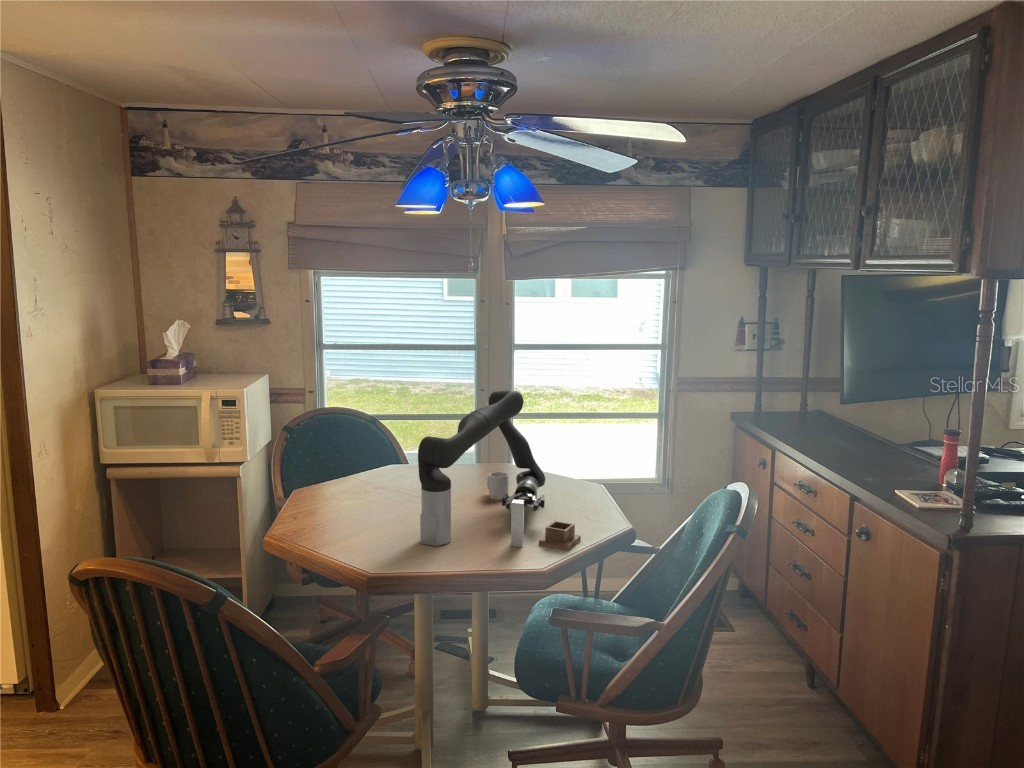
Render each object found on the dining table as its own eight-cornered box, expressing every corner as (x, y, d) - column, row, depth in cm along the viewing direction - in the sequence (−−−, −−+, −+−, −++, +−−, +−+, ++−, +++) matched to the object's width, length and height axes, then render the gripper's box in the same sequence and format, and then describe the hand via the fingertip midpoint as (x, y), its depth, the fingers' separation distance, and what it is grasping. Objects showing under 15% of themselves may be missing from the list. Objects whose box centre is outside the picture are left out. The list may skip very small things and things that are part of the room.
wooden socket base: (568, 550, 229) (568, 533, 228) (538, 544, 234) (539, 528, 233) (580, 540, 238) (580, 523, 237) (551, 534, 243) (551, 518, 242)
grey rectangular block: (522, 547, 232) (523, 503, 230) (510, 546, 232) (511, 502, 230) (523, 542, 235) (524, 499, 233) (512, 542, 236) (512, 499, 234)
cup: (497, 501, 277) (498, 478, 275) (480, 495, 284) (480, 472, 283) (512, 497, 282) (512, 474, 280) (494, 491, 289) (495, 469, 287)
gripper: (505, 481, 259) (499, 495, 243) (546, 483, 258) (543, 497, 242) (505, 502, 261) (499, 517, 245) (546, 504, 259) (543, 519, 243)
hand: (521, 507), depth 243 cm, fingers open, 8 cm apart
